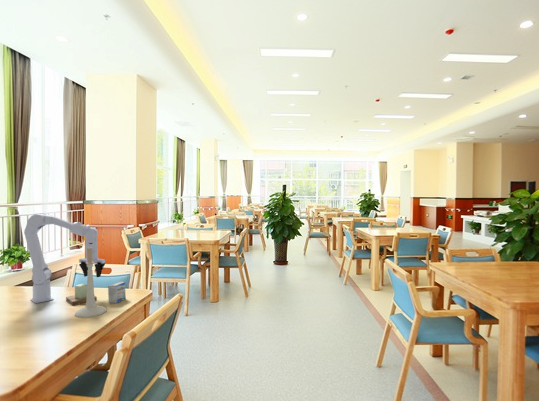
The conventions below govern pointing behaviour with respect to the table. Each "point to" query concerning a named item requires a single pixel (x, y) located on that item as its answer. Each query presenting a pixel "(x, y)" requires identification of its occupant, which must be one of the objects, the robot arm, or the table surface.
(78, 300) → the walnut block
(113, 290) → the medicine box
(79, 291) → the sage block
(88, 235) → the robot arm
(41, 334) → the table surface
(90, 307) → the candlestick
